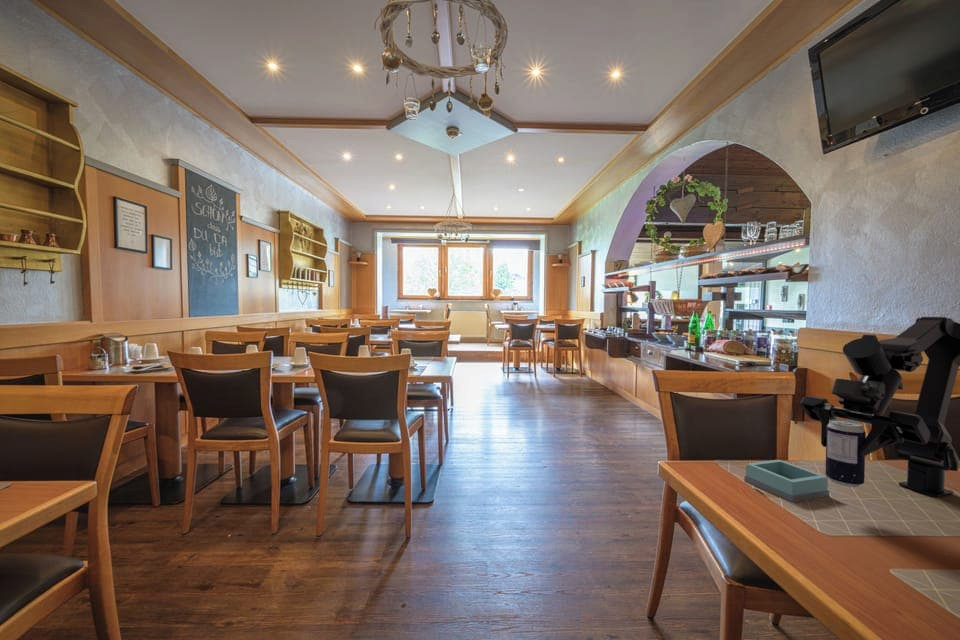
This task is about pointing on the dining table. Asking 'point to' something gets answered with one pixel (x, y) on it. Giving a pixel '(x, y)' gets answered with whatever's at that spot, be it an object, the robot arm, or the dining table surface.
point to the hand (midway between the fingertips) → (840, 450)
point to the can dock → (787, 480)
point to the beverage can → (845, 452)
